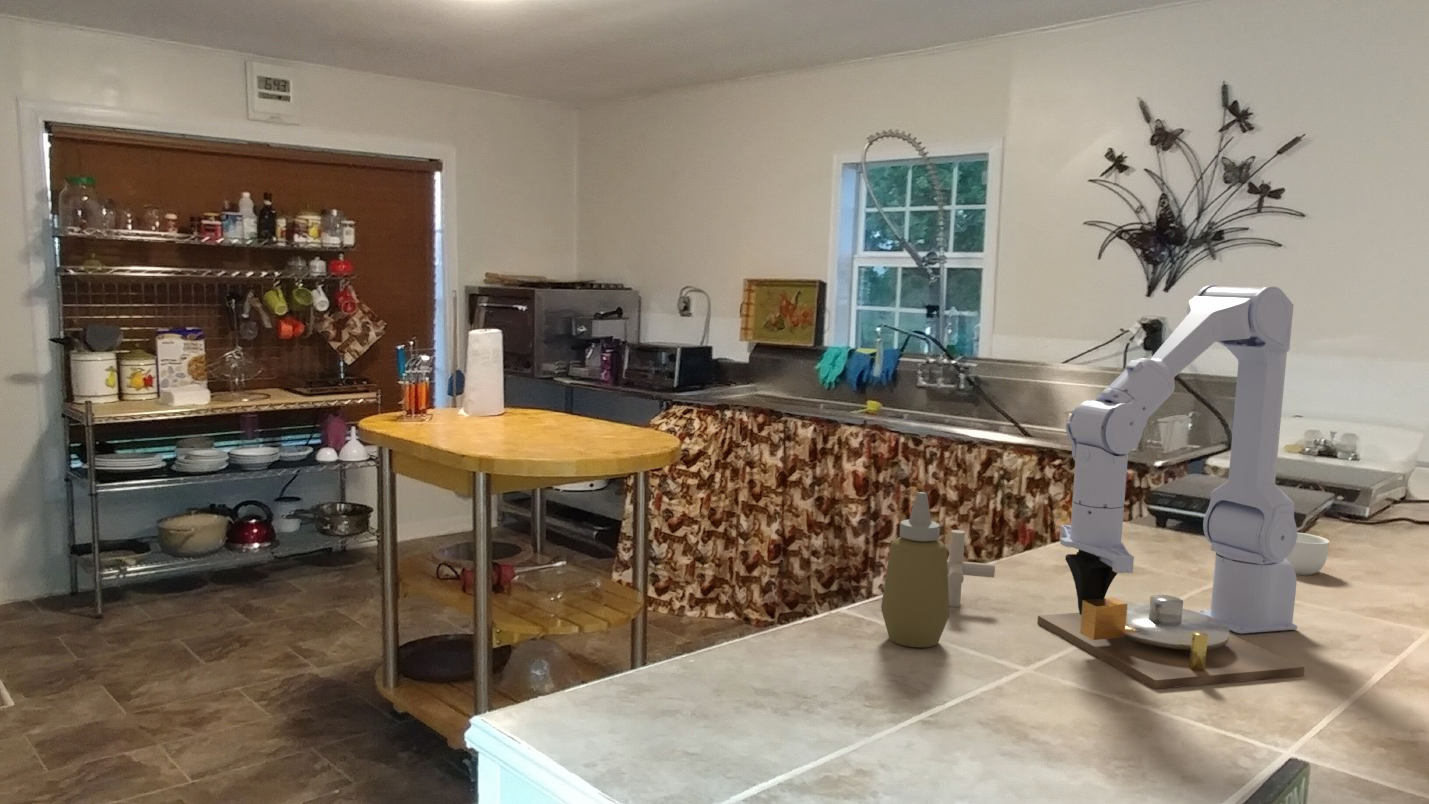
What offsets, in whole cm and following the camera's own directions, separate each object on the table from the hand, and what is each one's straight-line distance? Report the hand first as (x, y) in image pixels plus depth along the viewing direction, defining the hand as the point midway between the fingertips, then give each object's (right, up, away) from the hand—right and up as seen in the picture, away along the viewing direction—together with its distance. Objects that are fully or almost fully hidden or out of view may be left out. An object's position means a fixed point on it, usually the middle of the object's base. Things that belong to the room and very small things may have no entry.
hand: (1089, 615), depth 124 cm
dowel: (+9, -5, -8) cm, 13 cm away
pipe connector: (-13, -2, +16) cm, 20 cm away
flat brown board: (+9, -4, +1) cm, 10 cm away
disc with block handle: (+7, -2, 0) cm, 8 cm away
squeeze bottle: (-21, -3, +1) cm, 21 cm away
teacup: (+46, -1, +40) cm, 61 cm away
